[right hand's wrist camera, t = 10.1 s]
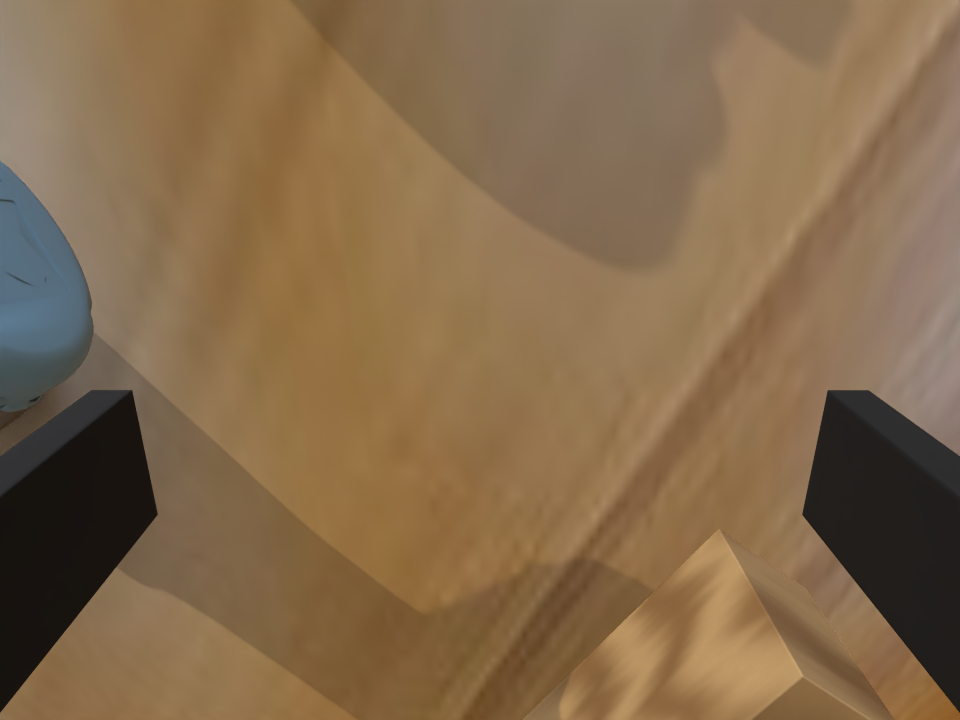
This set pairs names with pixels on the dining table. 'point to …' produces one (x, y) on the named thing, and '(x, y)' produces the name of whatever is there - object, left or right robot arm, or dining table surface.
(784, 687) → the block
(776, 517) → the dining table surface
